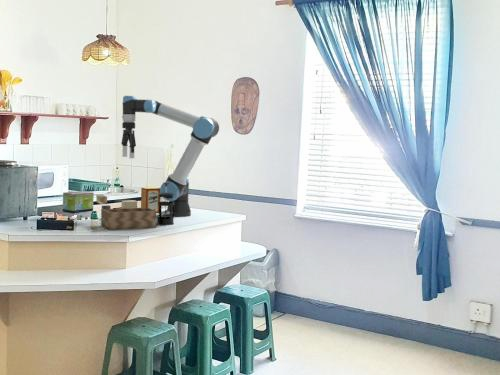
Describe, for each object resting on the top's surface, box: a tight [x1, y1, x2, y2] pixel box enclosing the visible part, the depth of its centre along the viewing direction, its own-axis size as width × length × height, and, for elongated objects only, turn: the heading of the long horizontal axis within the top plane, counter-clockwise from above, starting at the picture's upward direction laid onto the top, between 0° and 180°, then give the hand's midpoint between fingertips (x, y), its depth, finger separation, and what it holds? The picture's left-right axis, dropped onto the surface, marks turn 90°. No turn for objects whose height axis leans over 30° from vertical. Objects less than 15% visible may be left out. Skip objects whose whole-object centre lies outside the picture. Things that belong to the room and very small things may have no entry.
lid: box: [120, 199, 138, 208], centre depth 358 cm, size 26×14×11 cm, turn 123°
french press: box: [156, 182, 176, 226], centre depth 347 cm, size 12×9×23 cm
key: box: [95, 194, 108, 205], centre depth 342 cm, size 4×9×4 cm, turn 29°
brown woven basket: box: [100, 204, 157, 231], centre depth 334 cm, size 26×17×10 cm, turn 119°
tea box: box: [61, 190, 95, 220], centre depth 357 cm, size 15×10×15 cm
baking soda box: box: [140, 186, 161, 214], centre depth 384 cm, size 10×6×16 cm
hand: (128, 157), depth 370 cm, fingers open, 13 cm apart
